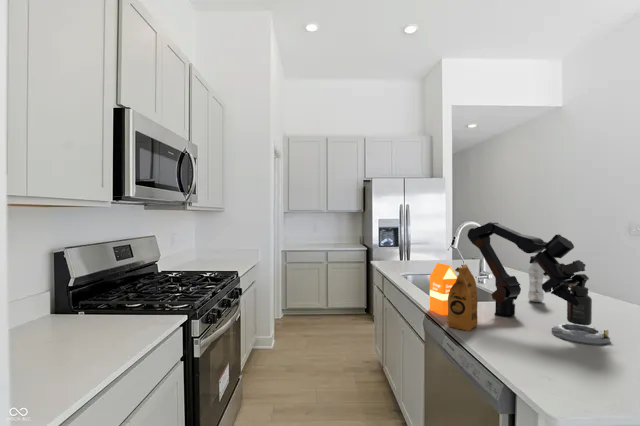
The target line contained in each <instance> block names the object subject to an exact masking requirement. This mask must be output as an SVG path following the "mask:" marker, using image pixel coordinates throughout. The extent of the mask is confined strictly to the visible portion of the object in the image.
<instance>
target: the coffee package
mask: <svg viewBox="0 0 640 426" xmlns="http://www.w3.org/2000/svg"><path fill="white" fill-rule="evenodd" d="M454 271H455V272H457V273H458V275H457V279H456V282H455V283H454V284H453V286H452V287H451V289H450V291H449V295H448V315H447V325H448V326H449V328H453V329H456V330H463V331H467V332H470V331H472V330H473V328H477V326H478V291H477V283H476V279H475V277H474V275H473V274H472V271H471V269H470V268H469V267H468V264H463V265H462V266H461V267H458V266H457V267H456V268H455V270H454Z"/></svg>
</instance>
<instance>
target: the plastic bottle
mask: <svg viewBox="0 0 640 426" xmlns="http://www.w3.org/2000/svg"><path fill="white" fill-rule="evenodd" d="M543 273H544V271H543V269H542V268H541V267H540V266H539V265H538V263H532V264H530V266H529V267H528V277H529V278H528V280H529V286H528V292H527V298H528V300H529V301H530V302H533V303H543V301H544V300H545V296H544V290H543V289H542V284H543V283H544V276H545V275H544V274H543Z"/></svg>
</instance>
